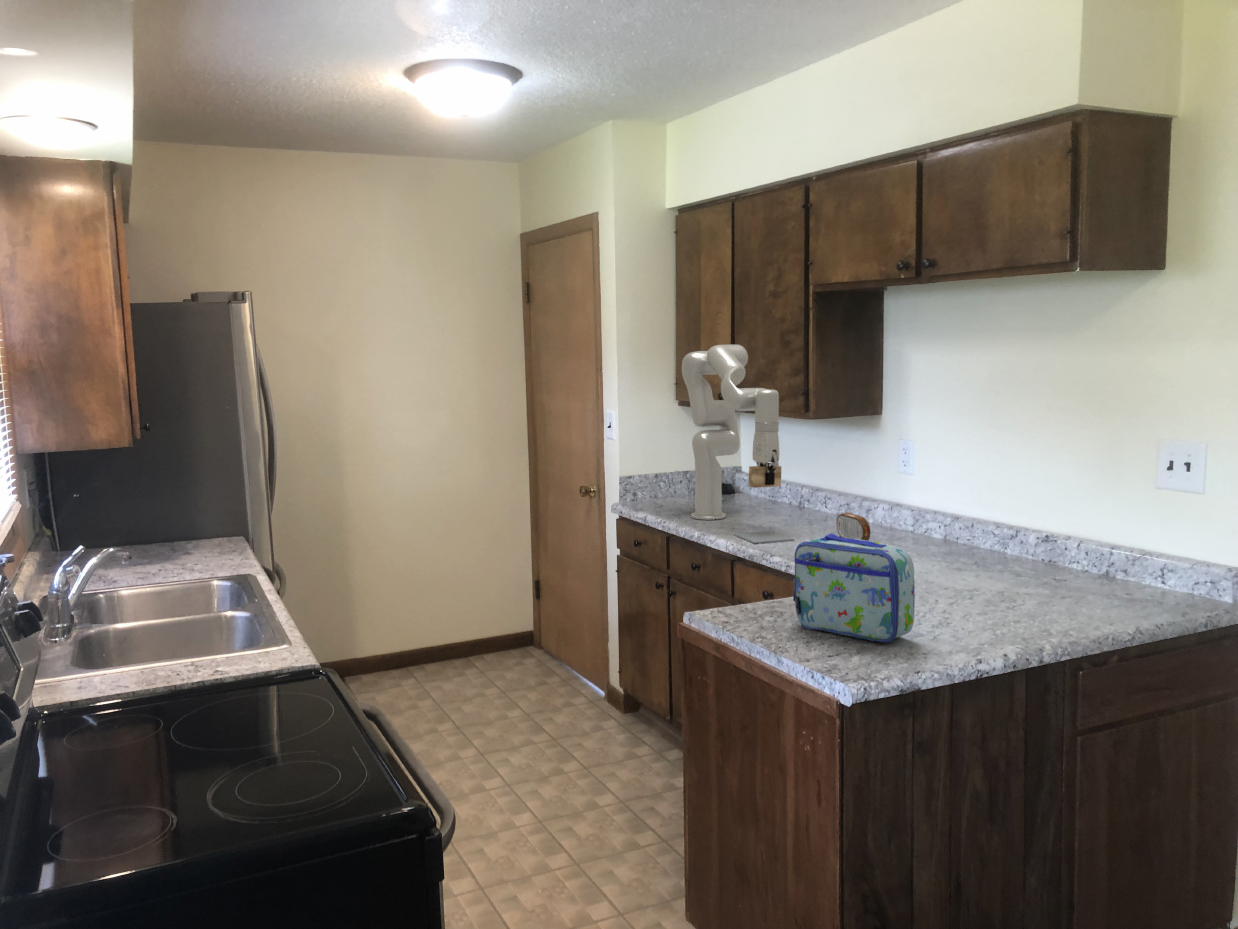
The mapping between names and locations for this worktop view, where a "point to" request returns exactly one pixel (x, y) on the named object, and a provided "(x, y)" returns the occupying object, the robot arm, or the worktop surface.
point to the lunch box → (854, 588)
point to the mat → (764, 537)
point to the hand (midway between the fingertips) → (766, 483)
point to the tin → (853, 526)
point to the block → (762, 476)
